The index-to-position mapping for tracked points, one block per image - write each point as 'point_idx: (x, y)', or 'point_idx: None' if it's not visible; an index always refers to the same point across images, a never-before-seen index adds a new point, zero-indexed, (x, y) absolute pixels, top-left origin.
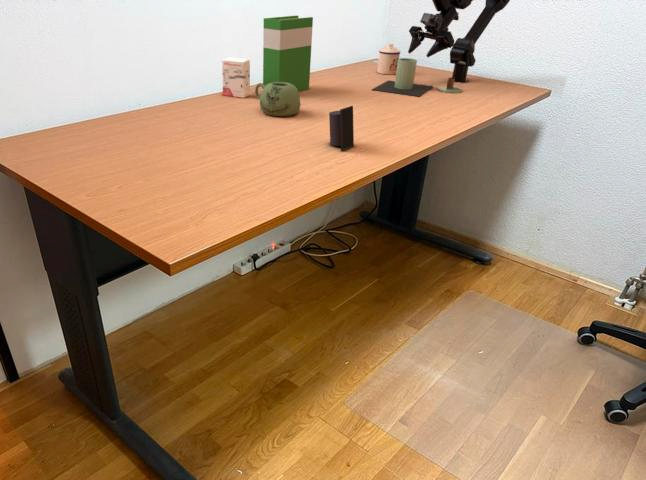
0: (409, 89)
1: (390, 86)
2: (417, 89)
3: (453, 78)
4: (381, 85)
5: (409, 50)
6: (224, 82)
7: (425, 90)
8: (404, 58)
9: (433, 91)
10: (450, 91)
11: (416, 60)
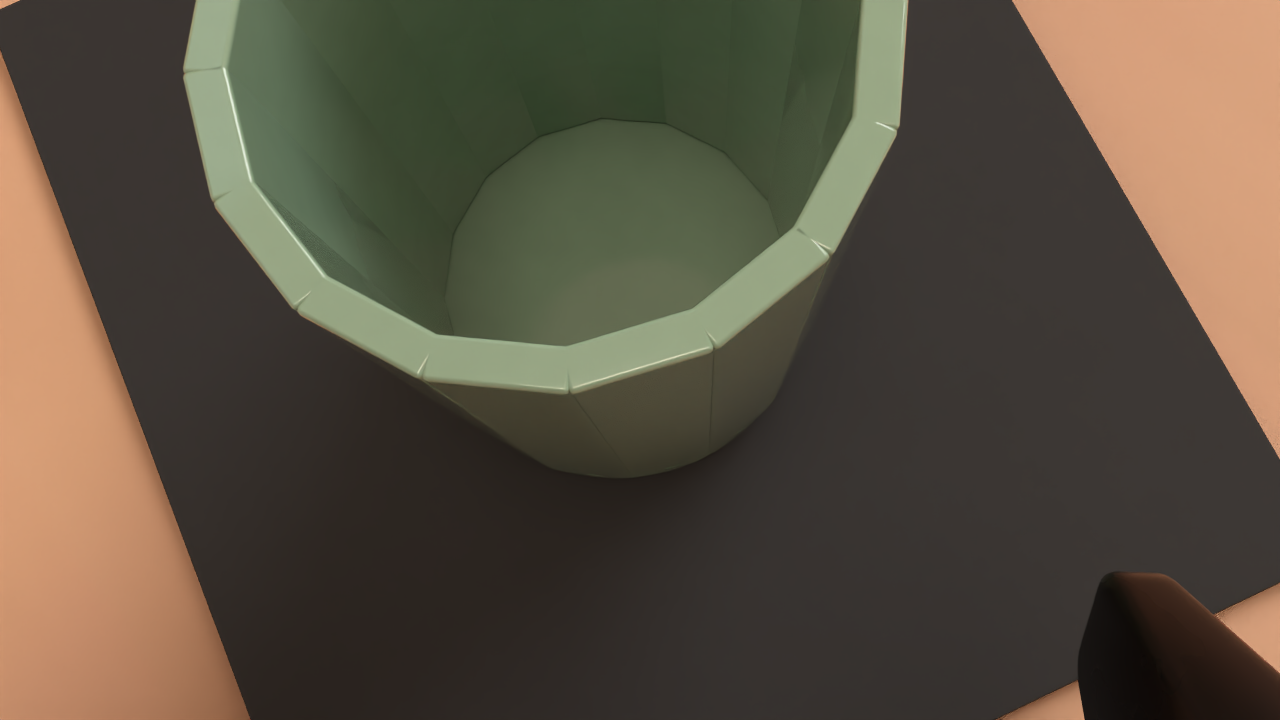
0: None
1: None
2: (339, 414)
3: None
4: (981, 22)
5: (1128, 612)
6: None
7: (186, 491)
8: (835, 161)
9: (96, 652)
10: None
11: (266, 239)
